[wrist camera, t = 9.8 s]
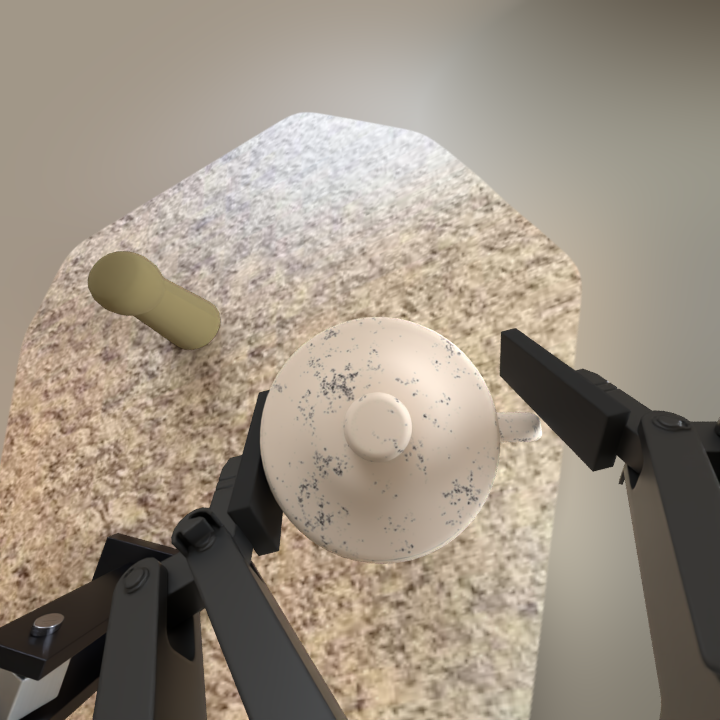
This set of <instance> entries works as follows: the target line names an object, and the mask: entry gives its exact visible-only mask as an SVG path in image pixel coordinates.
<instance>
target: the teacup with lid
mask: <svg viewBox="0 0 720 720" xmlns="http://www.w3.org/2000/svg"><path fill="white" fill-rule="evenodd" d="M541 435H542V429H541V423H540V420H539V418H538V417H537V416H536V415H535V414H532V413H527V412H496V409H495V405H494V402H493V399H492V396H491V394H490V391H489V389H488V387H487V385H486V383H485V381H484V379H483V378H482V376H481V375H480V373H479V371H478V370H477V368H476V367H475V366H474V364H473V363H472V362H471V361H470V360H469V358H468V357H467V356H466V355H465V354H464V353H463V352H462V351H461V350H460V349H459V348H458V347H457V346H455V345H454V344H453V343H452V342H450V341H449V340H448V339H446V338H445V337H443V336H442V335H440V334H438V333H437V332H435V331H433V330H431V329H429V328H427V327H424V326H422V325H419V324H417V323H414V322H410V321H407V320H402V319H397V318H388V317H369V318H360V319H355V320H350V321H347V322H343V323H340V324H337V325H335V326H332V327H330V328H328V329H326V330H324V331H322V332H320V333H319V334H317V335H315V336H314V337H312V338H311V339H310V340H308V341H307V342H306V343H304V344H303V345H302V346H301V347H300V348H299V349H298V350H297V351H296V352H295V353H294V354H293V355H292V356H291V357H290V358H289V359H288V361H287V362H286V363H285V364H284V366H283V367H282V368H281V370H280V372H279V373H278V375H277V376H276V378H275V380H274V382H273V384H272V386H271V388H270V391H269V393H268V396H267V399H266V402H265V405H264V409H263V414H262V419H261V428H260V449H261V458H262V463H263V468H264V472H265V475H266V479H267V481H268V484H269V487H270V489H271V491H272V493H273V495H274V497H275V499H276V501H277V503H278V504H279V506H280V508H281V509H282V511H283V512H284V514H285V515H286V516H287V517H288V519H289V520H290V521H291V522H292V523H293V524H294V525H295V526H296V528H297V529H298V530H299V531H300V532H302V533H303V534H304V535H305V536H306V537H308V538H309V539H310V540H311V541H313V542H314V543H316V544H317V545H319V546H320V547H322V548H324V549H326V550H328V551H330V552H332V553H334V554H336V555H339V556H341V557H344V558H348V559H351V560H355V561H360V562H366V563H377V564H386V563H398V562H404V561H409V560H412V559H416V558H419V557H422V556H424V555H427V554H429V553H432V552H434V551H435V550H437V549H439V548H441V547H443V546H444V545H446V544H447V543H449V542H450V541H451V540H453V539H454V538H455V537H456V536H458V535H459V534H460V533H461V532H462V531H463V530H464V529H465V528H466V527H467V526H468V525H469V524H470V523H471V522H472V520H473V519H474V518H475V516H476V515H477V514H478V512H479V511H480V509H481V508H482V506H483V504H484V503H485V501H486V499H487V497H488V495H489V492H490V490H491V488H492V485H493V482H494V479H495V476H496V472H497V467H498V462H499V454H500V442H530V441H536V440H538V439H539V438H540V437H541Z"/></svg>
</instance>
